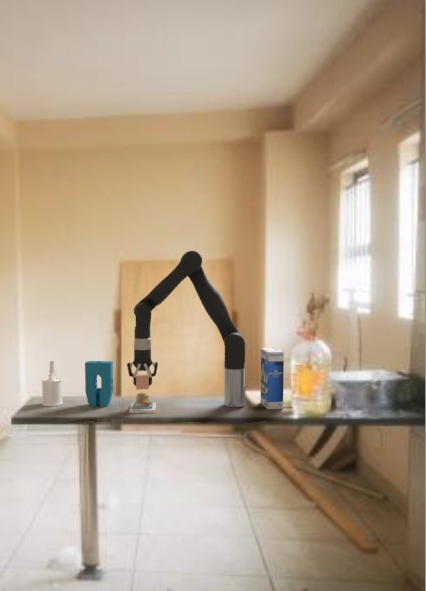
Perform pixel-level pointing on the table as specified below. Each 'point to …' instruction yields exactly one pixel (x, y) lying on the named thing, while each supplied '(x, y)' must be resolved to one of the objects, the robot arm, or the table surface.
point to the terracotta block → (142, 381)
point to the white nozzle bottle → (52, 388)
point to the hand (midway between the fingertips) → (142, 385)
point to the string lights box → (272, 378)
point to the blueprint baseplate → (142, 408)
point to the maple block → (143, 399)
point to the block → (106, 373)
